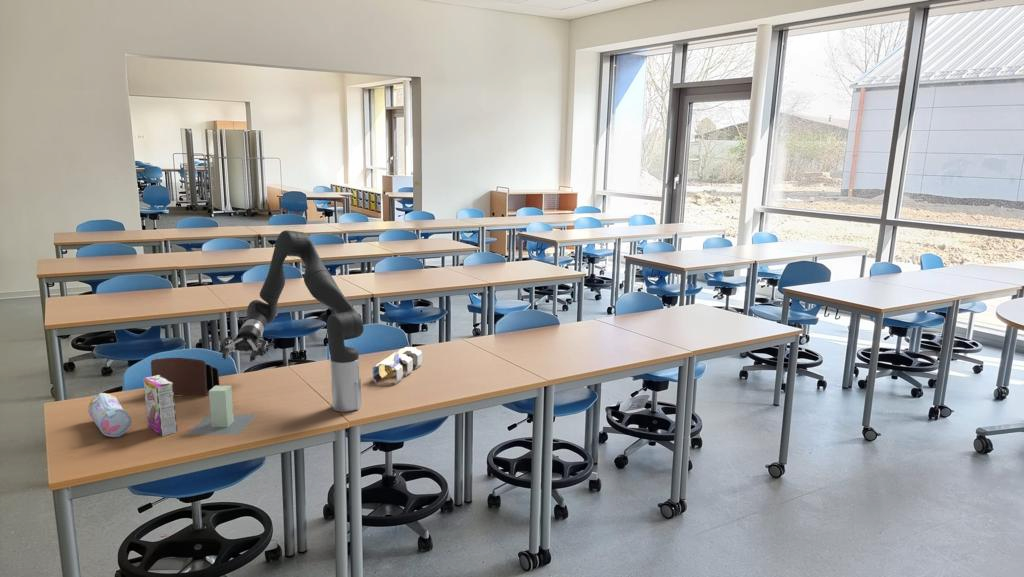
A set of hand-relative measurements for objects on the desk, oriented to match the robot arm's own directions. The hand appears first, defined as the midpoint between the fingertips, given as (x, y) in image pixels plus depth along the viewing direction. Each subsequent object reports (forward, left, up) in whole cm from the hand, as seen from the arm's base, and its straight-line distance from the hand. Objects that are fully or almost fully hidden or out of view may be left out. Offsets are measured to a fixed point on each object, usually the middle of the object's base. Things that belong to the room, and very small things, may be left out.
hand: (237, 358), depth 221 cm
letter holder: (+25, -16, -18) cm, 35 cm away
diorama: (-49, -36, -18) cm, 64 cm away
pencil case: (+34, +17, -18) cm, 42 cm away
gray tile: (0, +16, -17) cm, 23 cm away
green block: (0, +16, -17) cm, 23 cm away
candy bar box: (+17, +20, -18) cm, 31 cm away
